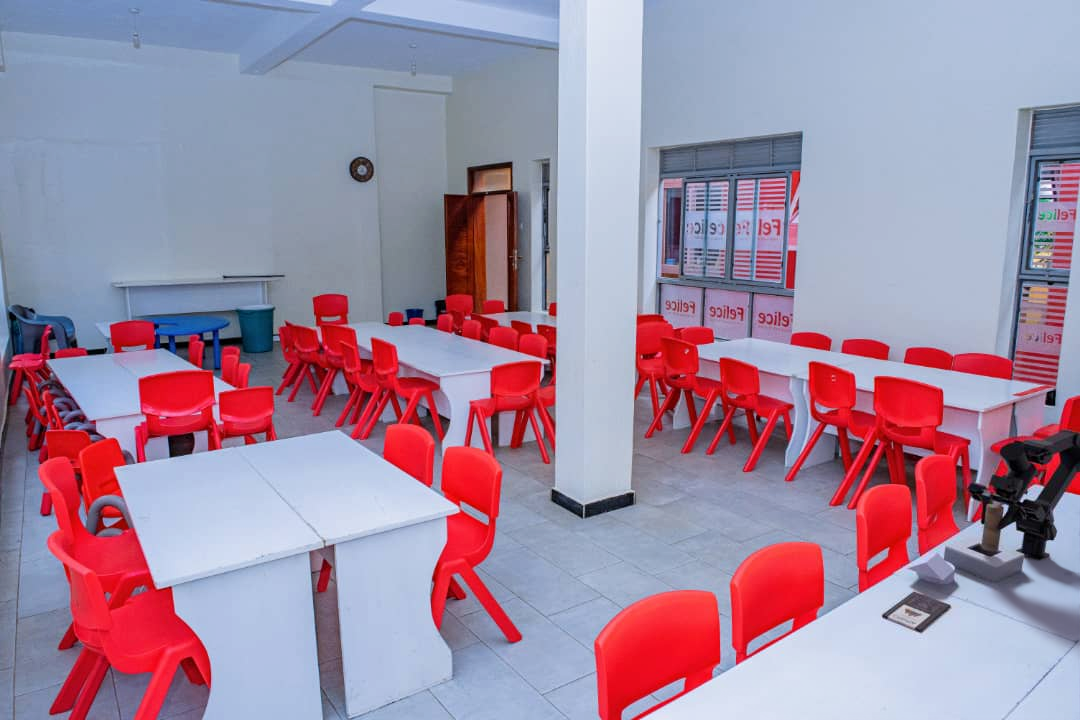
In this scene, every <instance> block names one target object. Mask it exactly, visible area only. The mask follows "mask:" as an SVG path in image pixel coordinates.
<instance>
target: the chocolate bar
mask: <svg viewBox="0 0 1080 720" xmlns="http://www.w3.org/2000/svg"><path fill="white" fill-rule="evenodd" d="M951 606H952V605H951V604H949V603H946V602H943V601H941V600H937V599H935V598H933V597H930V596H927V595H924V594H921V593H919V592H916V591H912V592H911V593H910V594H908V595H907V596H906V597H904V598H902V599H901V600H900V601H899V602H897V603H896V604H894V605H893V606H891V608H889V609H888V610H887V611H885V612H884V613H882V616H881V617H882V618H884V619H887V620H889V619H890V621H891V620H892V621H891V622H894V621H895V622H894V623H896V622H897V624H900V625H901V624H902V625H901V626H904V627H906V626H907V628H909V629H911V628H912V630H914V631H917V632H919V633H921V632H922V631H924V630H925V629H926V628H927V627H928V626H930V625H929V624H932V623H933V622H934V621H936V620H937V619H938V618H939V617H940V616H942V615H943V614H944V613H945V612H946V611H947V610H949V609H950V608H951ZM948 608H949V609H948ZM943 612H944V613H943ZM942 613H943V614H942ZM936 618H937V619H936ZM923 629H924V630H923Z"/></svg>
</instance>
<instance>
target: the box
mask: <svg viewBox="0 0 1080 720" xmlns="http://www.w3.org/2000/svg"><path fill="white" fill-rule="evenodd" d="M981 545H982V538H981V537H978V536H976V535H971V536H969V537H964V538H962V539H960V540H956V541H955V542H952V543H949V544H946V545H945V549H944V553H943V559H944V560H945V561H947V562H949V563H951V564H952V565H953V566H954V567H955V569H959V570H961V571H963V570H964V571H963V572H966V573H968V572H969V573H968V574H971V575H973V574H974V575H973V576H976V575H977V576H976V577H978V578H980V577H981V578H980V579H984V580H986V581H988V582H991V583H993V584H996V583H998V582H1000V581H1002V580H1005V579H1007V578H1010V577H1011V576H1013V575H1016V574H1019V573H1020V572H1022V571H1023V566H1024V560H1025V559H1024V557H1025V555H1024V554H1023V553H1020V552H1017V551H1016V550H1014V549H1011V548H1009V547H1005V546H1003V545H1001V544H999V548H998V551H987V550H985V549H983V548H982V547H981ZM1004 578H1005V579H1004Z"/></svg>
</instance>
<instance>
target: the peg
mask: <svg viewBox="0 0 1080 720" xmlns="http://www.w3.org/2000/svg"><path fill="white" fill-rule="evenodd" d="M1004 510H1005V507H1004V506H1002V505H1000V504H996V503H993V504H987V507H986V514H985V522H984V524H983V530H982V545H981V547H982V548H983V549H985V550H987V551H998V548H999V545H1000V539H1001V533H1002V529H1001V530H998V529H997V527H998V525H999V523H1000V521H1001V520H1002V518H1003V517H1004Z"/></svg>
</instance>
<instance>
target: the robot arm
mask: <svg viewBox="0 0 1080 720" xmlns="http://www.w3.org/2000/svg"><path fill="white" fill-rule="evenodd" d="M1056 454H1058V455H1059V461H1060V462H1059V464H1058V466H1057V467H1056V468H1055V470H1054V471H1053V473H1052V475H1051V476H1050V477H1049V479H1048V481H1047V482H1046V483H1045V485H1044V486H1043V488H1042V490H1041V491H1040V493H1039V495H1038V496H1037V498H1036V499H1035V500H1031V499H1029V498H1026V499H1023V501H1021V500H1022V498H1023V496H1024V495H1028V493H1029V491H1028V488H1029V486H1030V485H1031V484H1032V482H1033V479H1034V478H1039V472H1038V467H1036V465H1039V466H1046V465H1048V464H1049V463H1051V462H1052V461H1053V459H1054V458H1053V457H1054V455H1056ZM999 455H1000V456H1001V458H1002V460H1003V462H1004V464H1005V467H1006V468H1007V469H1008V470H1009V471H1008V473H1007V475H1005V474H1003V475H1002V476H1001V475H998V474H994V473H992V475H991V477H990V480H989V483H988V486H991V487H992V490H993V491H994V492H995V493H994V492H992V491H990V490H989V489H988V488H987V486H986V485H984V484H981V483H977V482H970V483H969V484H968V485H967V487H966V490H967V492H968V493H969V495H970V497H971V498H972V499H973V500H974V501H976V502H980V503H982V509H981V510H982V511H981V518H980V524H981V525H984V522H985V514H986V507H987V504H995V502H996V503H1000V504H1003V505H1006V506H1007V511H1006V512H1005V514H1003V518H1002V520H1001V521H1000V523H999V525H998V527H997V529H998V530H1001V531H1002V530H1003V529H1005V528H1006V527H1008V526H1010V525H1011V524H1014V523H1015V528H1016V531H1018V532H1020V533H1021V532H1022V533H1023V537H1022V543H1021V548H1020V547H1019V548H1018V549H1015V551H1017V552H1020V553H1023V554H1024V557H1028V558H1030V559H1033V560H1036V561H1041V560H1044V559H1046V558H1048V557H1050V553H1048V552H1046V547H1047V542H1048V541H1055V538H1056V537H1057V533H1058V529H1057V527H1056V526H1055V524H1054V523H1055V518H1054V517H1055V516H1054V510H1055V509H1056V507H1057V506H1058V504H1059V502H1060V501H1061V499H1062V497H1063V495H1064V494H1065V493H1066V491H1067V490H1068V488H1069V487H1070V485H1071V483H1072V481H1073V480H1074V479H1075V477H1076V475H1077V474H1078V473H1080V432H1079V431H1075V430H1070V429H1061V430H1059V431H1058V432H1057V433H1054V434H1052V435H1050V436H1046V437H1045V438H1042V439H1034V438H1033V439H1032V438H1031V439H1024V440H1022V441H1021V440H1018V439H1015V440H1014V441H1013V442H1009V443H1007V444H1004V445H1003V446H1002V447H1001V448H1000V450H999ZM1035 464H1036V465H1035Z"/></svg>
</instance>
